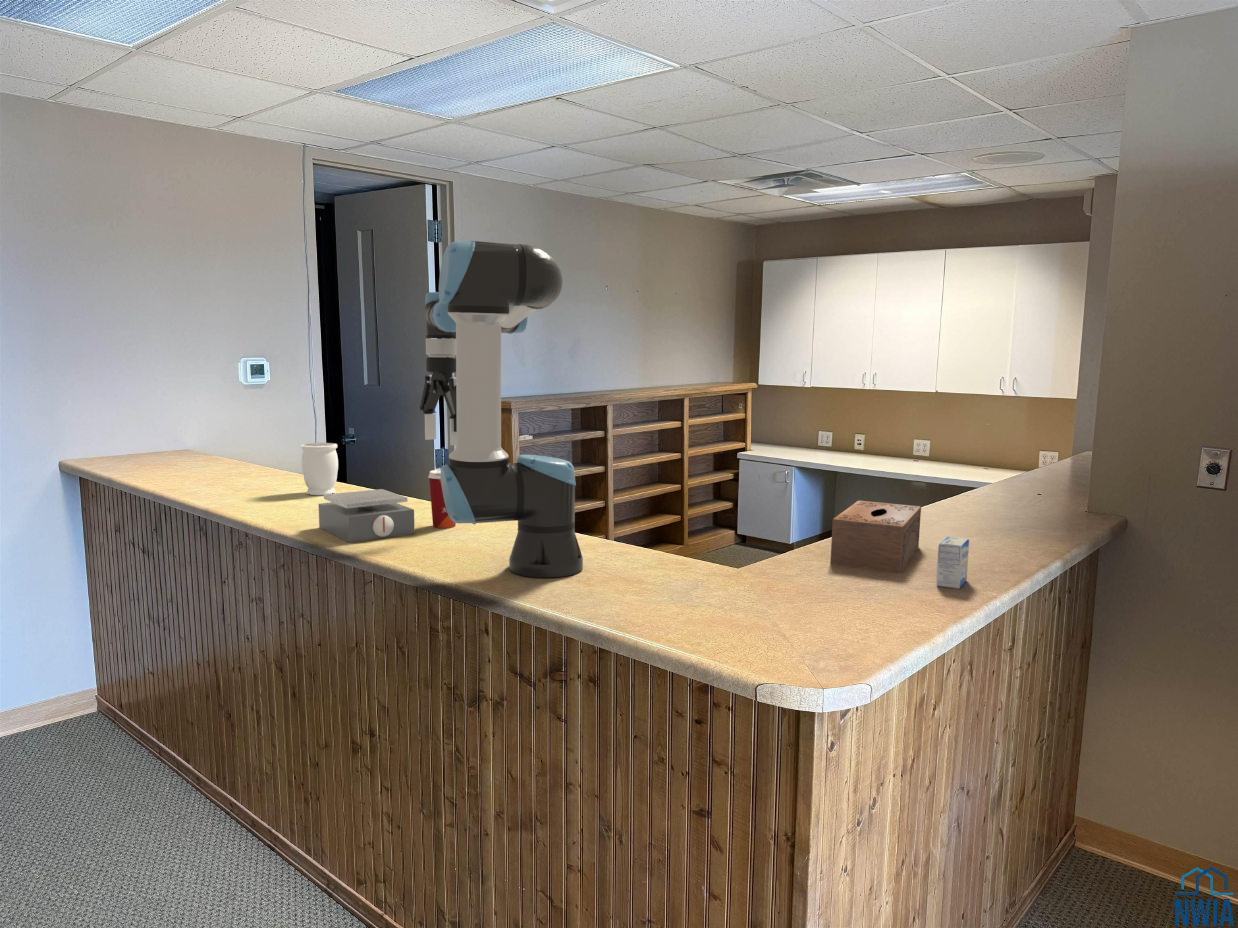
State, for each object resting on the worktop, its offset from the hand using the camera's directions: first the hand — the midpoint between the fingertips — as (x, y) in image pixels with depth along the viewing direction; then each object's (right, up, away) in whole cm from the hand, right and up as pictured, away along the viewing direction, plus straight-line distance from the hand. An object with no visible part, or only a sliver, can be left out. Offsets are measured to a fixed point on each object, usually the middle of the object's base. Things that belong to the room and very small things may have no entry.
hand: (442, 442), depth 209 cm
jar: (-47, -15, +46) cm, 67 cm away
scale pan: (-18, -15, -5) cm, 24 cm away
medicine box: (+110, -29, -43) cm, 122 cm away
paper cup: (0, -21, +3) cm, 22 cm away
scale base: (-18, -22, -4) cm, 29 cm away
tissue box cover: (+102, -26, -20) cm, 107 cm away
